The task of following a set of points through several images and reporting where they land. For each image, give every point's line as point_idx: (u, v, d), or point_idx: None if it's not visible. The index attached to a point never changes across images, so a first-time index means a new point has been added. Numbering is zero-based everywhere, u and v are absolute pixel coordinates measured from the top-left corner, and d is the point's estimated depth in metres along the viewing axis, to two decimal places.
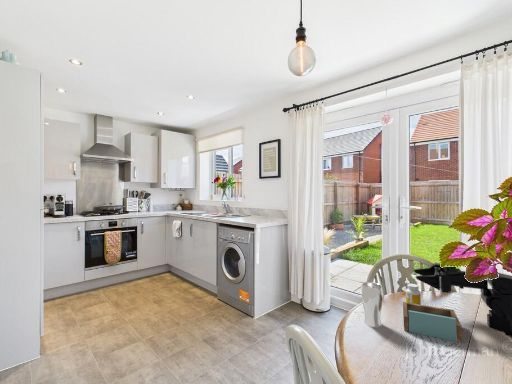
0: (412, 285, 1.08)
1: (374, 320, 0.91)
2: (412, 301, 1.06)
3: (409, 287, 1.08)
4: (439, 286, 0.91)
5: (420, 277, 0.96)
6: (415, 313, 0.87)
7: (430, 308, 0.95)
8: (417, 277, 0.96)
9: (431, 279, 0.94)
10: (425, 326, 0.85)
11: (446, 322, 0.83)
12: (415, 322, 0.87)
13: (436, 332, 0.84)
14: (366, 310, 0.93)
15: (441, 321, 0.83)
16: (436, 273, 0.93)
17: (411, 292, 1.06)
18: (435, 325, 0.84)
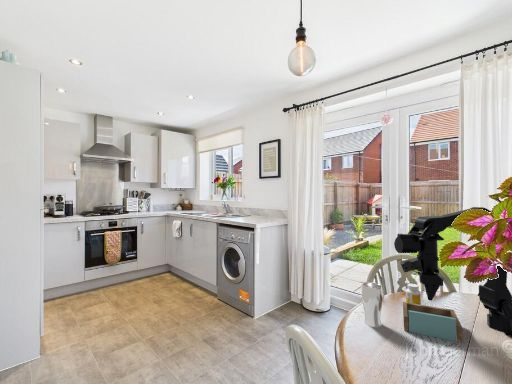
0: (412, 285, 1.08)
1: (374, 320, 0.91)
2: (412, 301, 1.06)
3: (409, 287, 1.08)
4: None
5: (429, 296, 0.86)
6: (415, 313, 0.87)
7: (430, 308, 0.95)
8: (429, 299, 0.87)
9: (429, 287, 0.86)
10: (425, 326, 0.85)
11: (446, 322, 0.83)
12: (415, 322, 0.87)
13: (436, 332, 0.84)
14: (366, 310, 0.93)
15: (441, 321, 0.83)
16: None
17: (411, 292, 1.06)
18: (435, 325, 0.84)
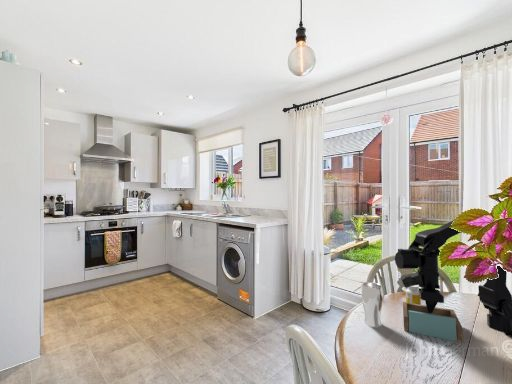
0: None
1: (374, 320, 0.91)
2: (412, 301, 1.06)
3: (409, 287, 1.08)
4: None
5: (429, 309, 0.89)
6: (415, 313, 0.87)
7: None
8: (429, 312, 0.89)
9: (429, 300, 0.88)
10: (425, 326, 0.85)
11: (446, 322, 0.83)
12: (415, 322, 0.87)
13: (436, 332, 0.84)
14: (366, 310, 0.93)
15: (441, 321, 0.83)
16: None
17: (411, 292, 1.06)
18: (435, 325, 0.84)
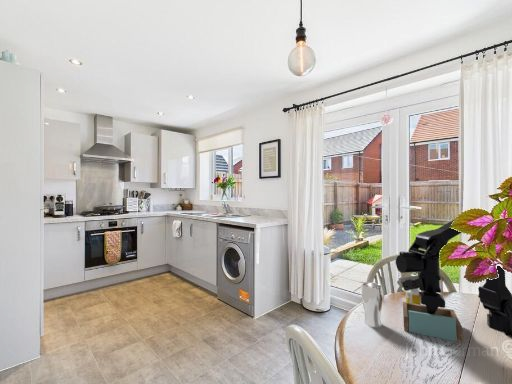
0: None
1: (374, 320, 0.91)
2: (412, 301, 1.06)
3: None
4: None
5: (429, 313, 0.86)
6: (415, 313, 0.87)
7: None
8: None
9: None
10: (425, 326, 0.85)
11: (446, 322, 0.83)
12: (415, 322, 0.87)
13: (436, 332, 0.84)
14: (366, 310, 0.93)
15: (441, 321, 0.83)
16: None
17: (411, 292, 1.06)
18: (435, 325, 0.84)
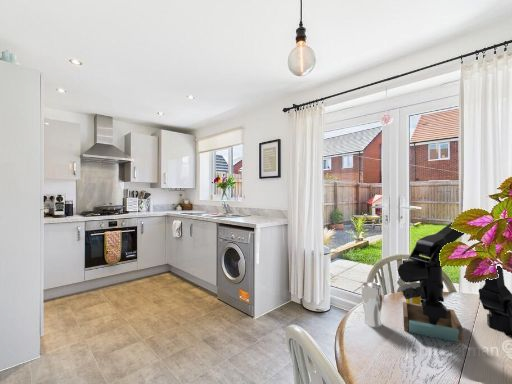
0: None
1: (374, 320, 0.91)
2: (412, 301, 1.06)
3: None
4: None
5: (432, 322, 0.82)
6: (416, 324, 0.83)
7: None
8: None
9: None
10: (426, 332, 0.84)
11: (448, 332, 0.80)
12: (415, 329, 0.85)
13: (437, 336, 0.83)
14: (366, 310, 0.93)
15: (443, 332, 0.80)
16: None
17: None
18: (436, 333, 0.82)
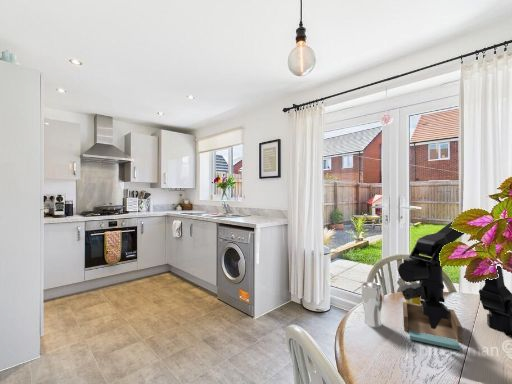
0: None
1: (374, 320, 0.91)
2: (412, 301, 1.06)
3: None
4: None
5: (432, 324, 0.79)
6: None
7: None
8: (432, 327, 0.80)
9: None
10: None
11: None
12: None
13: None
14: (366, 310, 0.93)
15: None
16: None
17: None
18: None
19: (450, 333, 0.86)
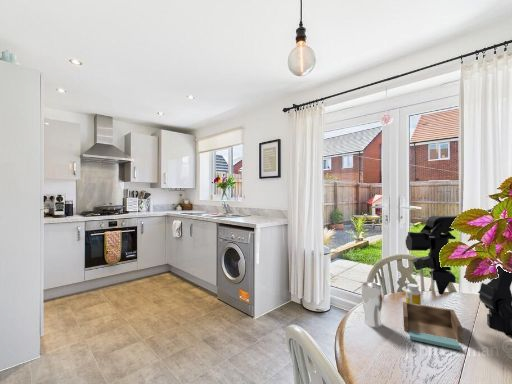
0: (412, 285, 1.08)
1: (374, 320, 0.91)
2: (412, 301, 1.06)
3: (409, 287, 1.08)
4: None
5: (440, 290, 0.91)
6: None
7: (430, 308, 0.95)
8: (440, 293, 0.92)
9: (440, 282, 0.91)
10: None
11: None
12: None
13: None
14: (366, 310, 0.93)
15: None
16: (432, 276, 0.92)
17: (411, 292, 1.06)
18: None
19: (450, 333, 0.86)
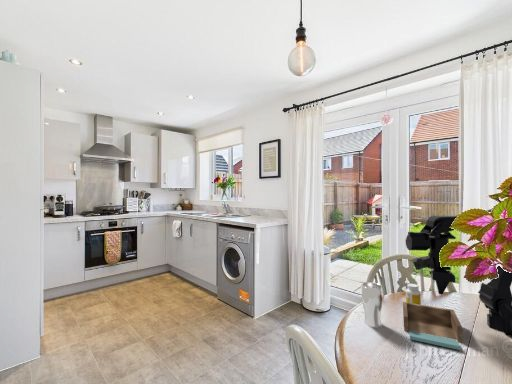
0: (412, 285, 1.08)
1: (374, 320, 0.91)
2: (412, 301, 1.06)
3: (409, 287, 1.08)
4: None
5: (440, 290, 0.92)
6: None
7: (430, 308, 0.95)
8: (440, 293, 0.92)
9: (440, 282, 0.91)
10: None
11: None
12: None
13: None
14: (366, 310, 0.93)
15: None
16: (432, 276, 0.92)
17: (411, 292, 1.06)
18: None
19: (450, 333, 0.86)
